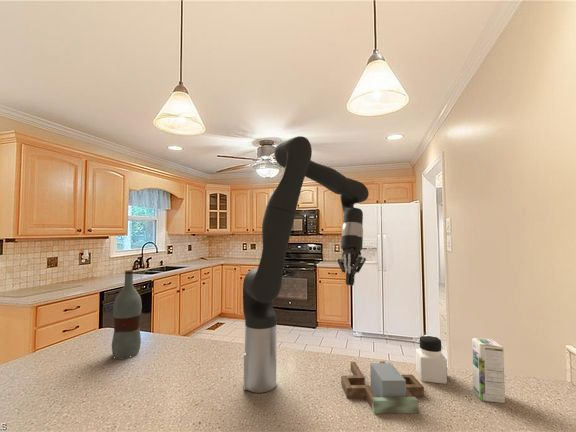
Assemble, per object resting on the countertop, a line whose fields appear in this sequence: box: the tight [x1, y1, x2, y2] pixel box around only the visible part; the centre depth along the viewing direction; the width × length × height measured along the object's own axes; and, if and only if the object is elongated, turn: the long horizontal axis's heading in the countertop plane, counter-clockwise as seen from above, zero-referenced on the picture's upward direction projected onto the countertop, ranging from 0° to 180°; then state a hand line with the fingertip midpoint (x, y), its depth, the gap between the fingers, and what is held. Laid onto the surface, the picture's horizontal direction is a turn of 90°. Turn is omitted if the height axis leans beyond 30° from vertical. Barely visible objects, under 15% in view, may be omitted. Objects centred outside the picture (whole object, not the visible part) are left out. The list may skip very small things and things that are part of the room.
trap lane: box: [340, 361, 425, 415], centre depth 83 cm, size 21×23×3 cm
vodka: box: [111, 269, 143, 359], centre depth 107 cm, size 9×9×30 cm
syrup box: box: [471, 337, 506, 404], centre depth 79 cm, size 6×6×14 cm
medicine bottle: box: [415, 334, 448, 385], centre depth 90 cm, size 7×7×12 cm
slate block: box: [370, 362, 406, 397], centre depth 78 cm, size 6×10×7 cm, turn 1°
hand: (349, 285), depth 101 cm, fingers closed
